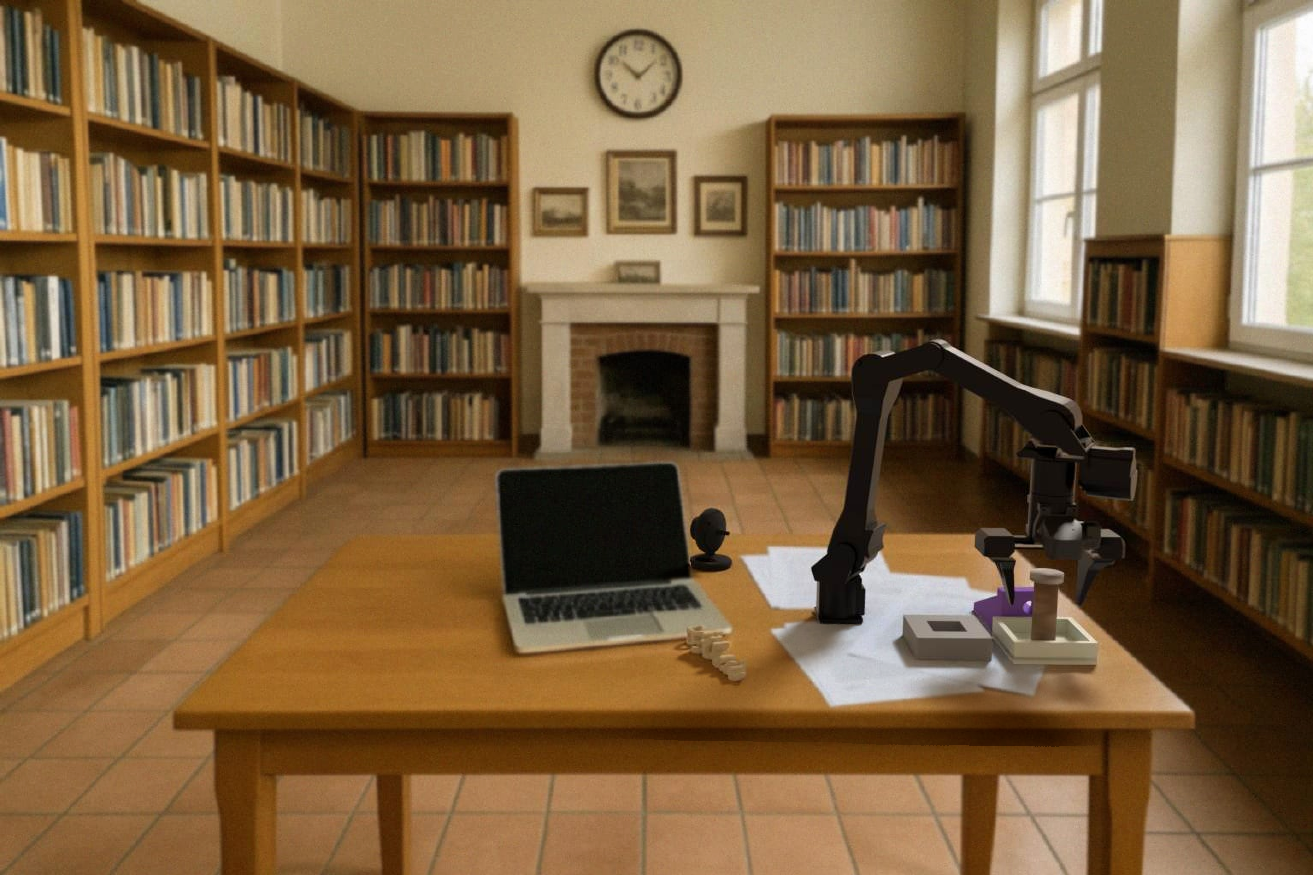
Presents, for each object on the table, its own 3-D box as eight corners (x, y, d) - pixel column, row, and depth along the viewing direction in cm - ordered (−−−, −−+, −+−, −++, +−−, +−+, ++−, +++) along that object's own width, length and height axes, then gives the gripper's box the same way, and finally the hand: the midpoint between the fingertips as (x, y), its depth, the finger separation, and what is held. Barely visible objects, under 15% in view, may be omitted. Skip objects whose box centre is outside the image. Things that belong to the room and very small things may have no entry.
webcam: (704, 557, 215) (705, 501, 213) (740, 564, 210) (741, 507, 209) (679, 566, 209) (679, 509, 207) (716, 574, 204) (716, 515, 203)
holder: (916, 659, 164) (917, 637, 163) (902, 635, 174) (903, 614, 173) (991, 659, 164) (992, 638, 163) (973, 635, 174) (974, 615, 173)
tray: (1013, 663, 162) (1014, 642, 162) (991, 636, 173) (992, 616, 173) (1096, 664, 162) (1098, 643, 162) (1069, 637, 173) (1071, 617, 173)
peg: (1031, 648, 165) (1035, 577, 164) (1022, 638, 170) (1026, 568, 168) (1064, 648, 165) (1068, 577, 164) (1054, 638, 170) (1058, 568, 168)
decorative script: (678, 644, 170) (678, 620, 170) (702, 640, 172) (702, 617, 171) (734, 686, 155) (735, 660, 154) (761, 682, 156) (761, 656, 156)
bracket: (1047, 637, 174) (1050, 590, 173) (999, 638, 174) (1002, 591, 173) (1017, 611, 186) (1020, 567, 185) (973, 612, 186) (975, 568, 185)
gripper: (998, 504, 156) (991, 622, 159) (1145, 506, 156) (1136, 624, 159) (976, 486, 167) (970, 597, 170) (1113, 488, 167) (1105, 598, 170)
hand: (1045, 604), depth 167 cm, fingers open, 9 cm apart
